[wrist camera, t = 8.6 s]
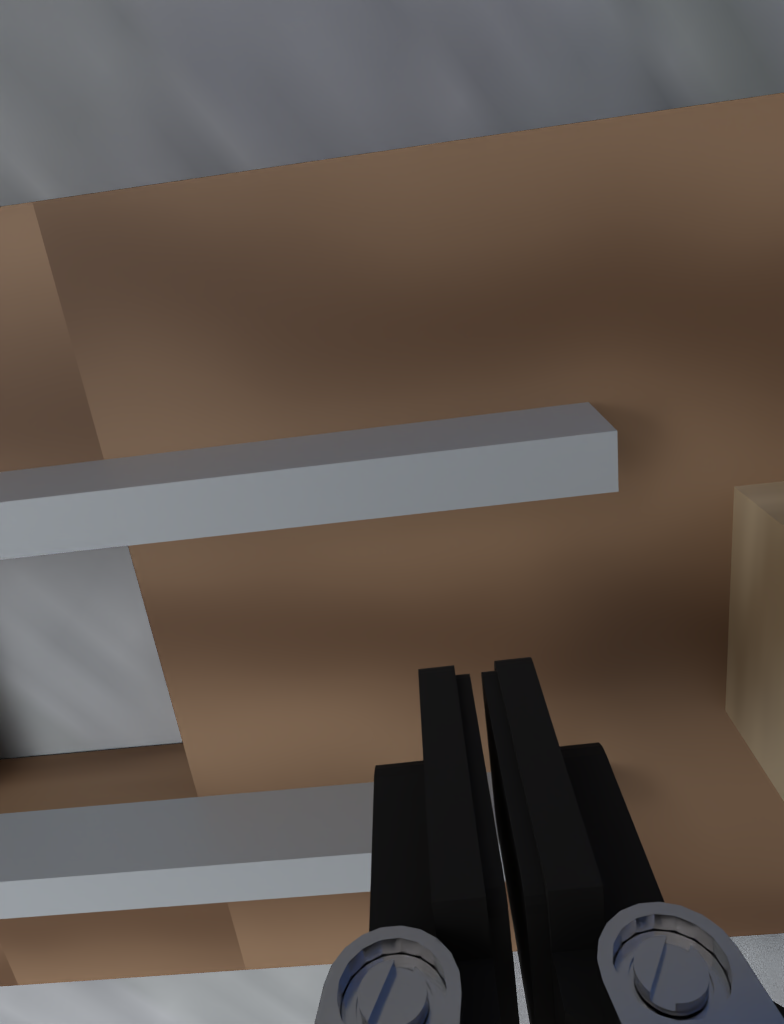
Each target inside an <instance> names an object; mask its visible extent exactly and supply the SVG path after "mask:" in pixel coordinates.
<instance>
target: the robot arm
mask: <svg viewBox="0 0 784 1024" xmlns="http://www.w3.org/2000/svg"><path fill="white" fill-rule="evenodd" d="M418 677H419V694H420V712H421V729H422V747H423V761H413V762H404V763H394V764H384V765H376V766H375V770H374V792H373V823H372V855H371V886H370V918H369V932H368V933H366V934H363V935H361V936H360V937H358V938H357V939H356V940H354V941H353V942H352V943H350V944H349V945H348V946H346V947H345V948H344V949H343V951H342V952H341V953H340V955H339V956H338V957H337V958H336V960H335V961H334V962H333V964H332V965H331V968H330V970H329V973H328V975H327V978H326V980H325V983H324V986H323V990H322V994H321V998H320V1003H319V1007H318V1011H317V1015H316V1019H315V1024H519V1014H518V1003H517V993H516V983H515V972H514V962H513V952H512V941H511V931H510V921H509V911H508V902H507V895H506V887H505V880H506V886H507V892H508V898H509V904H510V910H511V915H512V921H513V927H514V933H515V939H516V945H517V951H518V957H519V962H520V968H521V974H522V980H523V986H524V992H525V998H526V1004H527V1010H528V1015H529V1021H530V1024H784V1007H782V1006H780V1005H779V1004H777V1003H775V1002H774V1001H772V999H771V998H770V996H769V995H768V993H767V992H766V990H765V989H764V987H763V986H762V984H761V982H760V981H759V979H758V978H757V976H756V975H755V973H754V972H753V970H752V968H751V967H750V965H749V964H748V962H747V961H746V959H745V958H744V956H743V955H742V953H741V951H740V950H739V948H738V947H737V946H736V945H735V943H734V942H733V941H732V940H731V939H730V937H729V936H728V935H727V934H726V933H725V932H724V930H723V929H722V928H720V927H719V926H717V925H716V924H715V923H713V922H712V921H711V920H709V919H708V918H707V917H705V916H704V915H702V914H700V913H697V912H695V911H693V910H690V909H688V908H686V907H683V906H681V905H675V904H669V903H665V902H664V899H663V897H662V894H661V892H660V889H659V887H658V884H657V882H656V879H655V876H654V874H653V871H652V869H651V866H650V864H649V861H648V859H647V856H646V854H645V851H644V849H643V846H642V844H641V841H640V839H639V836H638V833H637V831H636V828H635V826H634V823H633V821H632V818H631V816H630V813H629V811H628V808H627V806H626V803H625V801H624V798H623V795H622V793H621V790H620V788H619V785H618V783H617V780H616V778H615V775H614V773H613V770H612V768H611V765H610V763H609V760H608V758H607V755H606V753H605V751H604V748H603V746H602V745H601V744H600V743H599V742H597V743H588V744H578V745H568V746H559V743H558V740H557V737H556V733H555V730H554V727H553V724H552V721H551V718H550V714H549V711H548V708H547V705H546V702H545V698H544V695H543V692H542V689H541V686H540V682H539V679H538V676H537V673H536V670H535V667H534V663H533V660H532V658H531V657H525V658H515V659H506V660H497V661H494V671H488V672H481V678H482V689H483V699H484V709H485V719H486V729H487V739H488V749H489V759H490V769H491V779H492V789H493V799H494V809H495V818H496V826H497V832H496V826H495V820H494V814H493V808H492V802H491V796H490V790H489V784H488V779H487V773H486V767H485V761H484V755H483V749H482V743H481V737H480V731H479V725H478V719H477V713H476V707H475V701H474V696H473V690H472V684H471V678H470V673H469V674H460V675H455V668H454V665H451V666H442V667H433V668H424V669H418ZM497 833H498V838H497ZM498 839H499V844H498ZM499 845H500V850H499ZM500 851H501V856H500ZM501 857H502V862H503V867H502V862H501ZM503 868H504V874H505V880H504V874H503Z"/></svg>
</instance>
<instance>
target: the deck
mask: <svg viewBox="0 0 784 1024" xmlns="http://www.w3.org/2000/svg"><path fill="white" fill-rule="evenodd" d="M585 402H589V403H590V404H591V405H592V406H593V407H594V408H595V409H596V410H597V411H598V412H599V413H600V414H601V415H602V416H603V417H604V418H605V419H606V420H607V421H608V422H609V423H610V424H611V425H612V426H613V427H614V428H615V429H616V430H617V441H618V488H619V492H610V493H601V494H592V495H583V496H574V497H565V498H556V499H547V500H538V501H529V502H519V503H510V504H501V505H492V506H483V507H474V508H465V509H456V510H447V511H438V512H429V513H420V514H411V515H402V516H393V517H384V518H375V519H366V520H356V521H347V522H338V523H329V524H320V525H311V526H302V527H293V528H284V529H275V530H266V531H257V532H248V533H239V534H230V535H221V536H212V537H203V538H193V539H184V540H175V541H166V542H157V543H148V544H139V545H130V546H128V548H129V551H130V555H131V558H132V562H133V566H134V569H135V573H136V576H137V580H138V583H139V587H140V591H141V594H142V598H143V601H144V605H145V609H146V612H147V616H148V619H149V623H150V627H151V630H152V634H153V637H154V641H155V645H156V648H157V652H158V655H159V659H160V662H161V666H162V670H163V673H164V677H165V680H166V684H167V688H168V691H169V695H170V698H171V702H172V706H173V709H174V713H175V716H176V720H177V724H178V727H179V731H180V734H181V738H182V741H183V743H179V744H168V745H157V746H146V747H135V748H124V749H113V750H101V751H90V752H79V753H68V754H57V755H46V756H35V757H24V758H13V759H2V760H0V814H4V813H16V812H28V811H40V810H51V809H63V808H75V807H87V806H98V805H110V804H122V803H134V802H145V801H157V800H169V799H181V798H192V797H204V796H216V795H228V794H239V793H251V792H263V791H275V790H286V789H298V788H310V787H322V786H333V785H345V784H357V783H369V782H374V770H375V766H376V765H384V764H394V763H404V762H413V761H423V747H422V729H421V712H420V694H419V677H418V669H424V668H433V667H442V666H451V665H454V668H455V675H460V674H469V673H470V678H471V684H472V690H473V696H474V701H475V707H476V713H477V719H478V725H479V731H480V737H481V743H482V749H483V755H484V761H485V767H486V772H491V769H490V759H489V749H488V739H487V729H486V719H485V709H484V699H483V689H482V678H481V672H488V671H494V661H497V660H506V659H515V658H525V657H531V658H532V660H533V663H534V667H535V670H536V673H537V676H538V679H539V682H540V686H541V689H542V692H543V695H544V698H545V702H546V705H547V708H548V711H549V714H550V718H551V721H552V724H553V727H554V730H555V733H556V737H557V740H558V743H559V746H568V745H578V744H588V743H597V742H599V743H600V744H601V745H602V746H603V748H604V751H605V753H606V755H607V758H608V760H609V763H610V765H611V768H612V770H613V773H614V775H615V778H616V780H617V783H618V785H619V788H620V790H621V793H622V795H623V798H624V801H625V803H626V806H627V808H628V811H629V813H630V816H631V818H632V821H633V823H634V826H635V828H636V831H637V833H638V836H639V839H640V841H641V844H642V846H643V849H644V851H645V854H646V856H647V859H648V861H649V864H650V866H651V869H652V871H653V874H654V876H655V879H656V882H657V884H658V887H659V889H660V892H661V894H662V897H663V899H664V902H665V903H669V904H675V905H681V906H683V907H686V908H688V909H690V910H693V911H695V912H697V913H700V914H702V915H704V916H705V917H707V918H708V919H709V920H711V921H712V922H713V923H715V924H716V925H717V926H719V927H720V928H722V929H723V930H724V932H725V933H726V934H727V935H728V936H729V937H734V936H749V935H764V934H778V933H784V801H783V799H782V798H781V796H780V794H779V793H778V791H777V790H776V788H775V787H774V785H773V784H772V782H771V780H770V779H769V777H768V776H767V774H766V773H765V771H764V770H763V768H762V767H761V765H760V763H759V762H758V760H757V759H756V757H755V756H754V754H753V753H752V751H751V750H750V748H749V746H748V745H747V743H746V742H745V740H744V739H743V737H742V736H741V734H740V733H739V731H738V729H737V728H736V726H735V725H734V723H733V722H732V720H731V719H730V717H729V716H728V714H727V712H726V711H725V706H726V680H727V655H728V630H729V605H730V580H731V555H732V530H733V505H734V487H735V486H744V485H753V484H763V483H772V482H781V481H784V93H778V94H771V95H764V96H758V97H751V98H744V99H737V100H730V101H723V102H716V103H709V104H703V105H696V106H689V107H682V108H675V109H668V110H661V111H655V112H648V113H641V114H634V115H627V116H620V117H613V118H606V119H600V120H593V121H586V122H579V123H572V124H565V125H558V126H552V127H545V128H538V129H531V130H524V131H517V132H510V133H503V134H497V135H490V136H483V137H476V138H469V139H462V140H455V141H448V142H442V143H435V144H428V145H421V146H414V147H407V148H400V149H394V150H387V151H380V152H373V153H366V154H359V155H352V156H345V157H339V158H332V159H325V160H318V161H311V162H304V163H297V164H291V165H284V166H277V167H270V168H263V169H256V170H249V171H242V172H236V173H229V174H222V175H215V176H208V177H201V178H194V179H187V180H181V181H174V182H167V183H160V184H153V185H146V186H139V187H133V188H126V189H119V190H112V191H105V192H98V193H91V194H84V195H78V196H71V197H64V198H57V199H50V200H43V201H36V202H30V203H23V204H16V205H9V206H2V207H0V472H6V471H14V470H23V469H31V468H39V467H48V466H56V465H65V464H73V463H81V462H90V461H98V460H107V459H115V458H123V457H132V456H140V455H149V454H157V453H165V452H174V451H182V450H191V449H199V448H207V447H216V446H224V445H232V444H241V443H249V442H258V441H266V440H274V439H283V438H291V437H300V436H308V435H316V434H325V433H333V432H342V431H350V430H358V429H367V428H375V427H384V426H392V425H400V424H409V423H417V422H425V421H434V420H442V419H451V418H459V417H467V416H476V415H484V414H493V413H501V412H509V411H518V410H526V409H535V408H543V407H551V406H560V405H568V404H577V403H585ZM505 887H506V895H507V902H508V911H509V921H510V931H511V941H512V952H513V951H517V945H516V939H515V933H514V927H513V921H512V915H511V910H510V904H509V898H508V892H507V886H506V881H505ZM369 918H370V892H356V893H343V894H330V895H316V896H303V897H289V898H276V899H263V900H249V901H236V902H222V903H209V904H196V905H182V906H169V907H155V908H142V909H129V910H115V911H102V912H88V913H75V914H62V915H48V916H35V917H21V918H8V919H0V986H13V985H28V984H42V983H57V982H72V981H87V980H101V979H116V978H131V977H145V976H160V975H175V974H190V973H204V972H219V971H234V970H248V969H263V968H278V967H293V966H307V965H322V964H333V962H334V961H335V960H336V958H337V957H338V956H339V955H340V953H341V952H342V951H343V949H344V948H345V947H346V946H348V945H349V944H350V943H352V942H353V941H354V940H356V939H357V938H358V937H360V936H361V935H363V934H366V933H368V932H369Z"/></svg>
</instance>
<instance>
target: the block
mask: <svg viewBox="0 0 784 1024" xmlns="http://www.w3.org/2000/svg"><path fill="white" fill-rule="evenodd" d="M725 711H726V712H727V714H728V716H729V717H730V719H731V720H732V722H733V723H734V725H735V726H736V728H737V729H738V731H739V733H740V734H741V736H742V737H743V739H744V740H745V742H746V743H747V745H748V746H749V748H750V750H751V751H752V753H753V754H754V756H755V757H756V759H757V760H758V762H759V763H760V765H761V767H762V768H763V770H764V771H765V773H766V774H767V776H768V777H769V779H770V780H771V782H772V784H773V785H774V787H775V788H776V790H777V791H778V793H779V794H780V796H781V798H782V799H783V801H784V481H781V482H772V483H763V484H753V485H744V486H735V487H734V505H733V530H732V555H731V580H730V605H729V630H728V655H727V680H726V706H725Z"/></svg>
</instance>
